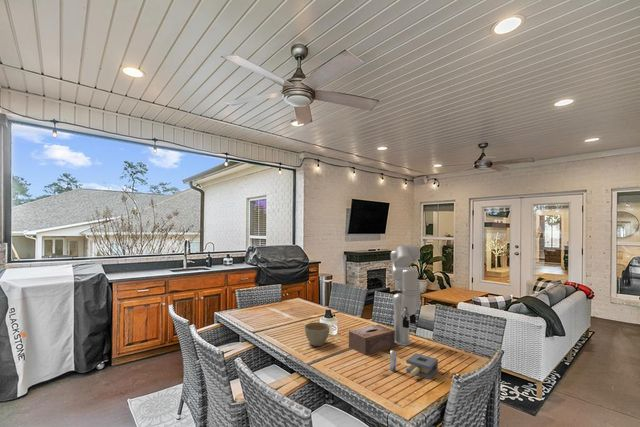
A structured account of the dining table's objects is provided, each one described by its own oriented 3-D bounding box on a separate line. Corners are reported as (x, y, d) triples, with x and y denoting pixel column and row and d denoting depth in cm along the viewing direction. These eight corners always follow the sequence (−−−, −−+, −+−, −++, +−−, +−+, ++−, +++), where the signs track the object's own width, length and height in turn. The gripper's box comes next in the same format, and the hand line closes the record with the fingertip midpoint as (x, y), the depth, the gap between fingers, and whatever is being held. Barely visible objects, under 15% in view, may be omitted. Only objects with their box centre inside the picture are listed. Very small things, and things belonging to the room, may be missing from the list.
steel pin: (389, 370, 162) (389, 350, 162) (391, 368, 164) (391, 349, 165) (394, 372, 160) (394, 352, 160) (397, 370, 162) (397, 350, 163)
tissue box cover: (378, 339, 208) (378, 324, 209) (394, 346, 196) (394, 330, 197) (348, 347, 193) (348, 331, 194) (364, 355, 181) (365, 338, 182)
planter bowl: (299, 345, 195) (299, 327, 196) (312, 337, 209) (312, 321, 210) (322, 350, 187) (322, 331, 188) (333, 341, 202) (334, 324, 202)
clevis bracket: (401, 376, 156) (401, 363, 156) (415, 364, 170) (415, 353, 170) (425, 383, 148) (425, 370, 149) (437, 370, 162) (437, 359, 163)
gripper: (408, 289, 175) (408, 320, 174) (396, 294, 161) (396, 327, 160) (421, 291, 171) (422, 323, 170) (410, 296, 157) (410, 330, 156)
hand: (409, 325), depth 165 cm, fingers open, 9 cm apart
